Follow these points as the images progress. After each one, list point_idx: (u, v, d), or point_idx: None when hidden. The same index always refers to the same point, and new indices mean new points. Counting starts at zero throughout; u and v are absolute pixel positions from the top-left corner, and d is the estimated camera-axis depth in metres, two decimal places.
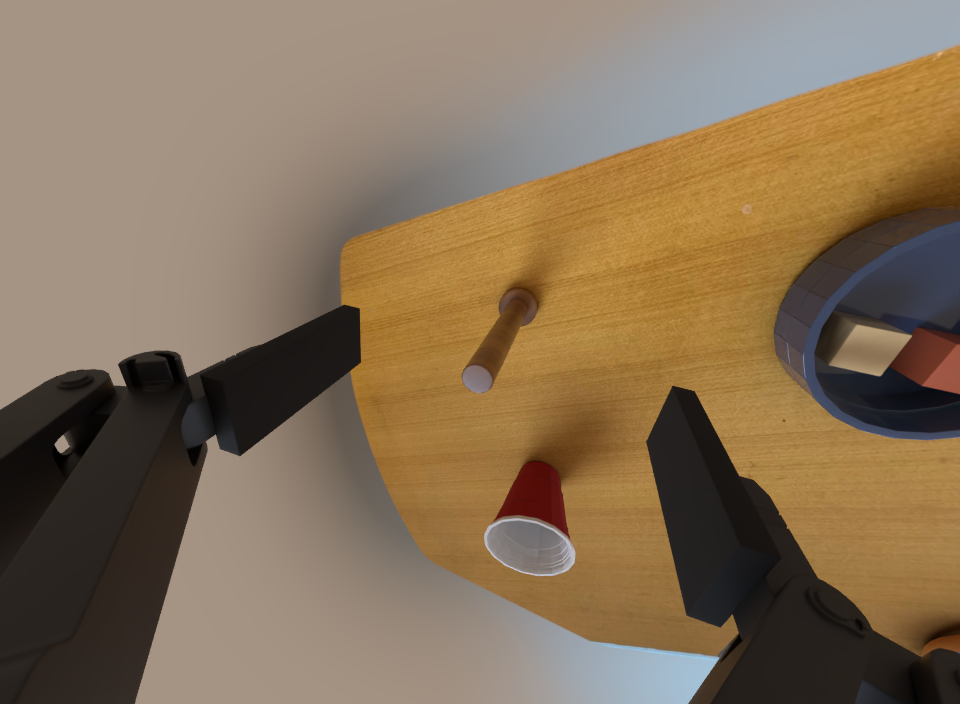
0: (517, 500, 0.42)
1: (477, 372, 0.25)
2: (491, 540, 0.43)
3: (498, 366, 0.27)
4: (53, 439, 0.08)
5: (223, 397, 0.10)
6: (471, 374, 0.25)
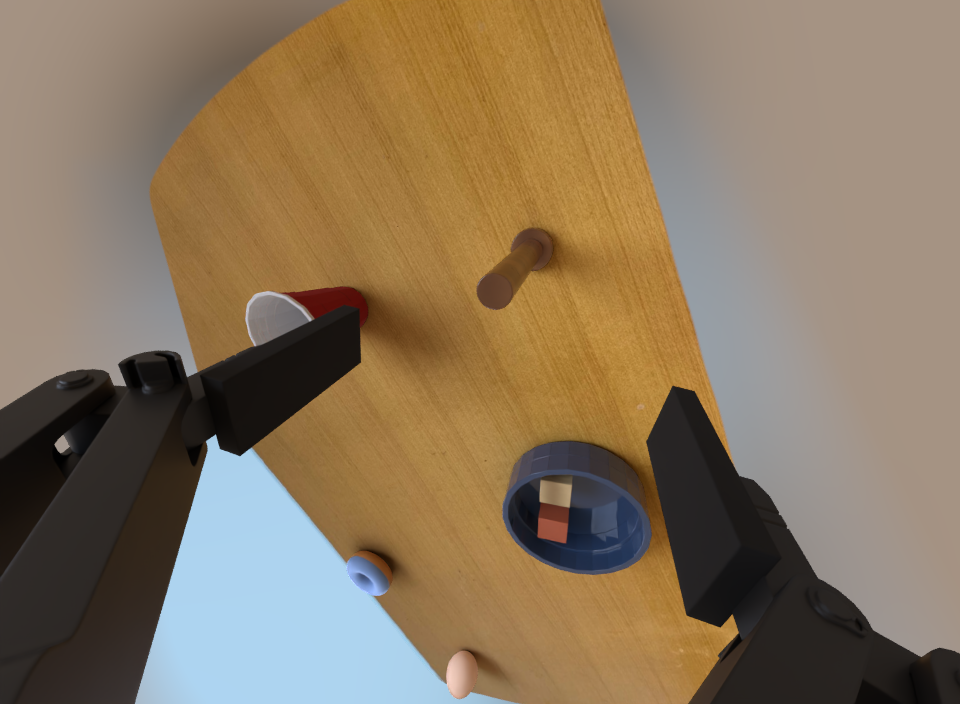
0: (326, 310, 0.38)
1: (502, 291, 0.22)
2: (264, 297, 0.37)
3: None
4: (53, 439, 0.08)
5: (223, 397, 0.10)
6: (498, 285, 0.22)
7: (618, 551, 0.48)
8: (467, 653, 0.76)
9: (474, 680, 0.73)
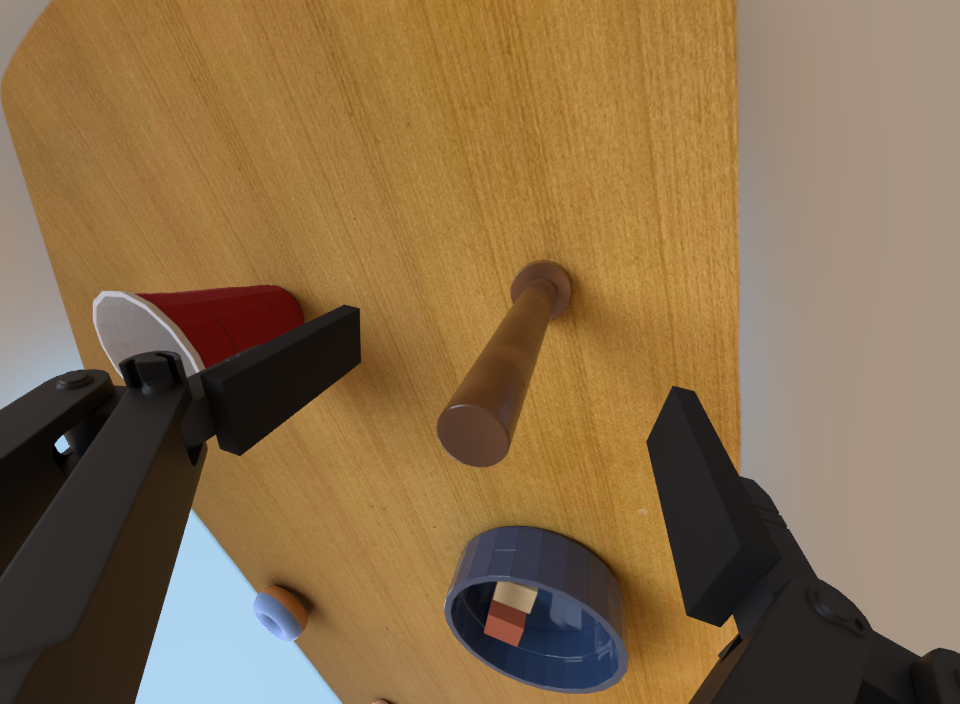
0: (223, 328, 0.25)
1: (489, 441, 0.11)
2: None
3: None
4: (53, 439, 0.08)
5: (223, 397, 0.10)
6: (482, 428, 0.10)
7: (579, 666, 0.39)
8: None
9: None
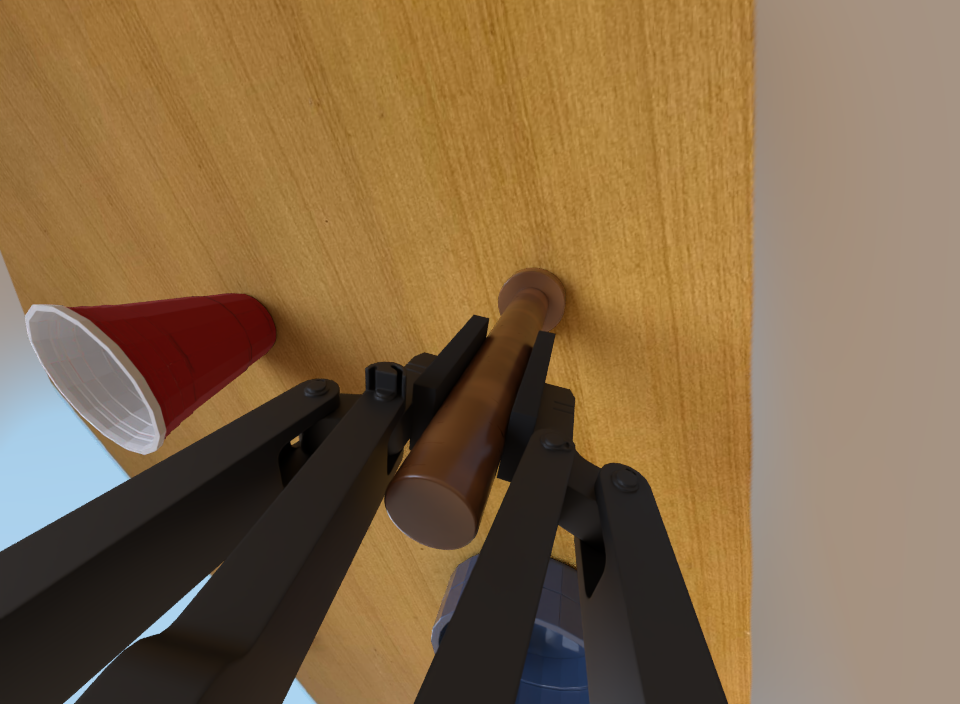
0: (177, 345, 0.23)
1: (451, 522, 0.08)
2: None
3: None
4: (283, 444, 0.08)
5: (431, 403, 0.11)
6: (441, 506, 0.08)
7: (576, 698, 0.36)
8: None
9: None
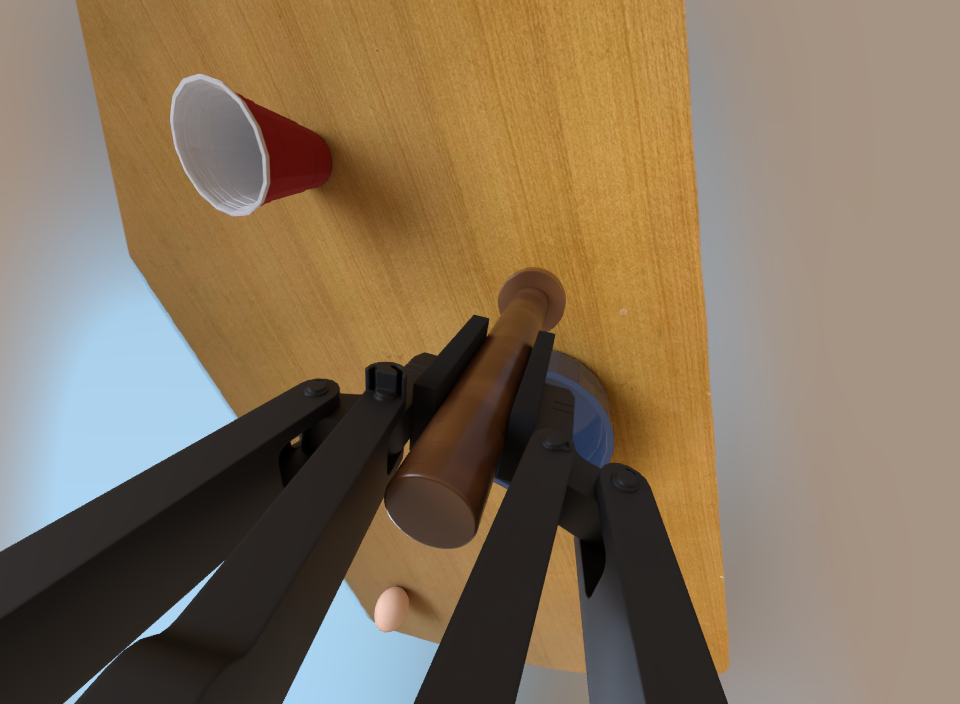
0: (274, 126, 0.31)
1: (451, 521, 0.08)
2: (196, 89, 0.30)
3: None
4: (283, 444, 0.08)
5: (431, 403, 0.11)
6: (441, 505, 0.08)
7: None
8: (399, 589, 0.72)
9: (404, 615, 0.70)
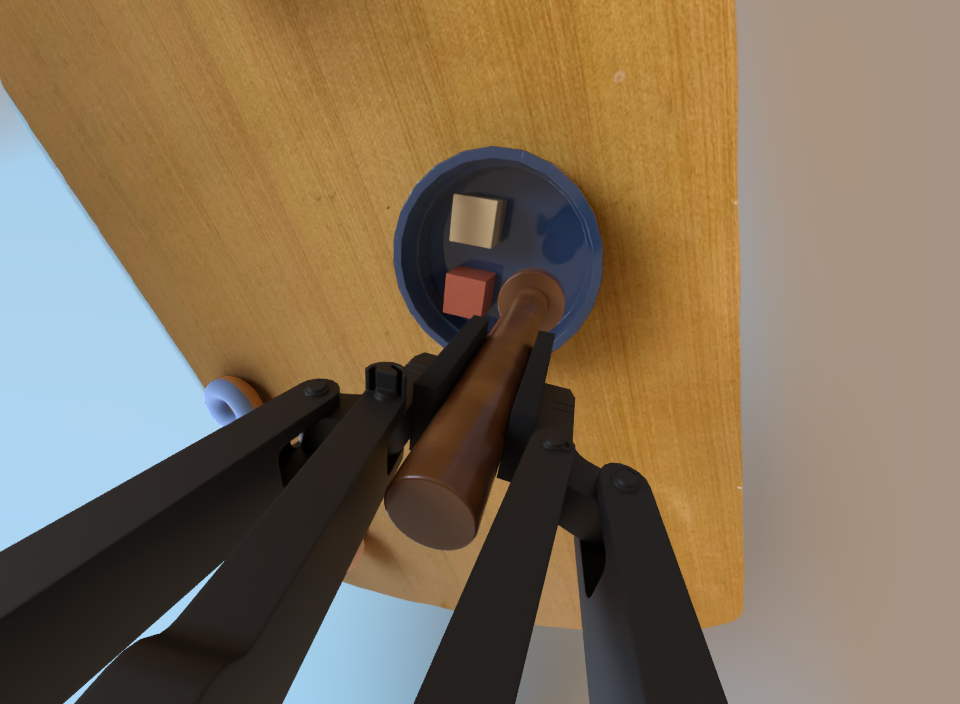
0: None
1: (451, 522, 0.08)
2: None
3: None
4: (283, 444, 0.08)
5: (431, 403, 0.11)
6: (441, 506, 0.08)
7: None
8: None
9: (356, 558, 0.59)
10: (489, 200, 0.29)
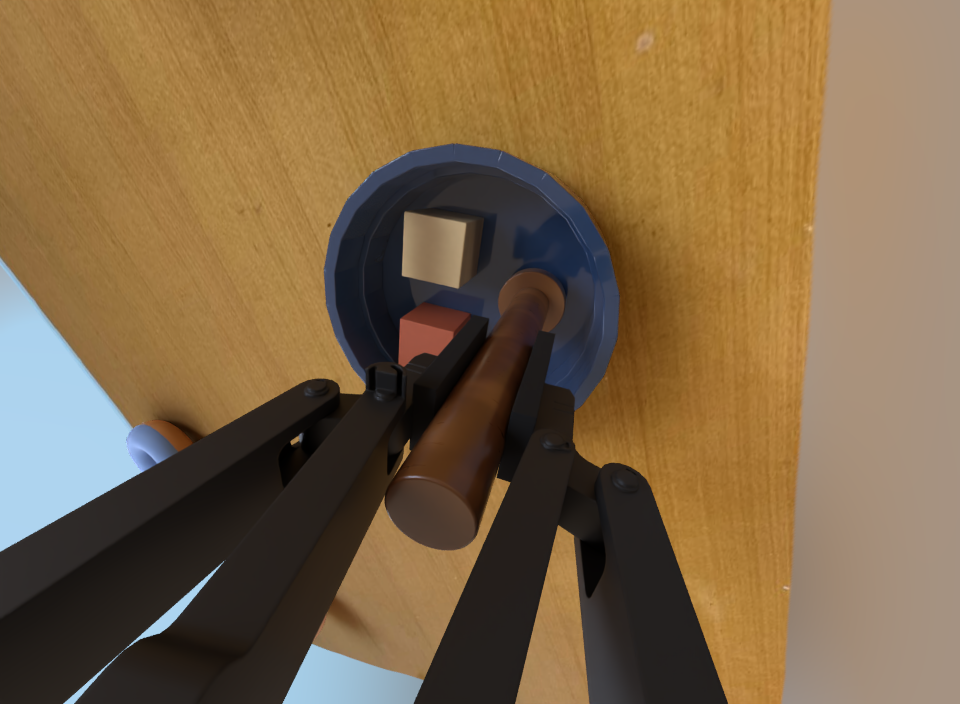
0: None
1: (451, 522, 0.08)
2: None
3: None
4: (283, 444, 0.08)
5: (431, 403, 0.11)
6: (441, 506, 0.08)
7: None
8: None
9: None
10: (454, 222, 0.20)
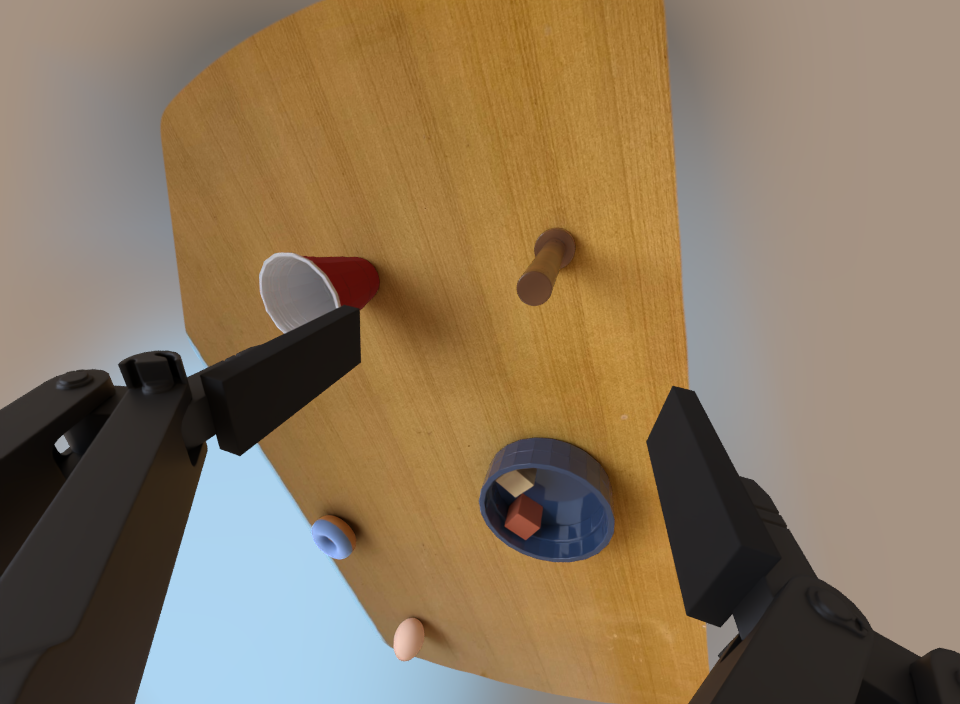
0: (344, 280, 0.38)
1: (539, 295, 0.24)
2: (284, 257, 0.37)
3: None
4: (53, 439, 0.08)
5: (223, 397, 0.10)
6: (542, 288, 0.23)
7: (579, 543, 0.52)
8: (416, 621, 0.80)
9: (420, 645, 0.77)
10: (529, 482, 0.49)
